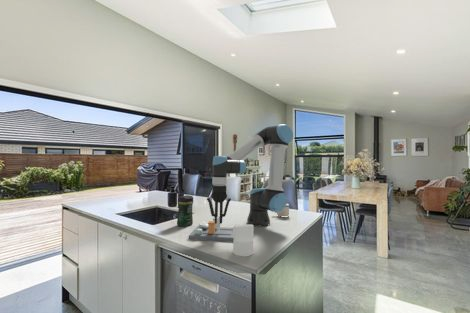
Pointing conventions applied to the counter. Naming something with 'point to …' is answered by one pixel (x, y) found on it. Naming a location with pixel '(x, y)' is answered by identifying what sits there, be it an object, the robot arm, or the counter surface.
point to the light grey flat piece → (203, 225)
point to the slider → (211, 227)
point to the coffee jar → (185, 211)
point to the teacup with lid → (284, 211)
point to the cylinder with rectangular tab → (243, 240)
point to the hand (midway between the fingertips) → (218, 229)
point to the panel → (219, 235)
